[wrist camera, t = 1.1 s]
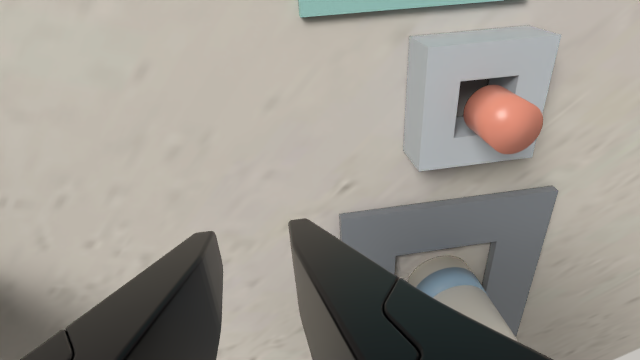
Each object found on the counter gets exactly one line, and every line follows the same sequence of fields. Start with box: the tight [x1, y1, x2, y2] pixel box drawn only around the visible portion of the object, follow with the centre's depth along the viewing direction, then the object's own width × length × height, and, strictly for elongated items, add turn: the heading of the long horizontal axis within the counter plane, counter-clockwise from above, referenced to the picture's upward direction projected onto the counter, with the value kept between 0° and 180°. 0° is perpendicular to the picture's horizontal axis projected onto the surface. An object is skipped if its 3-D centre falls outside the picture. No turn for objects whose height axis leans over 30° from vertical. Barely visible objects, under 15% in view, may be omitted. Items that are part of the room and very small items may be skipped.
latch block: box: [403, 25, 561, 171], centre depth 21 cm, size 6×6×2 cm
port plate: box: [339, 186, 558, 337], centre depth 29 cm, size 14×14×1 cm
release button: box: [463, 85, 543, 154], centre depth 18 cm, size 2×2×2 cm
